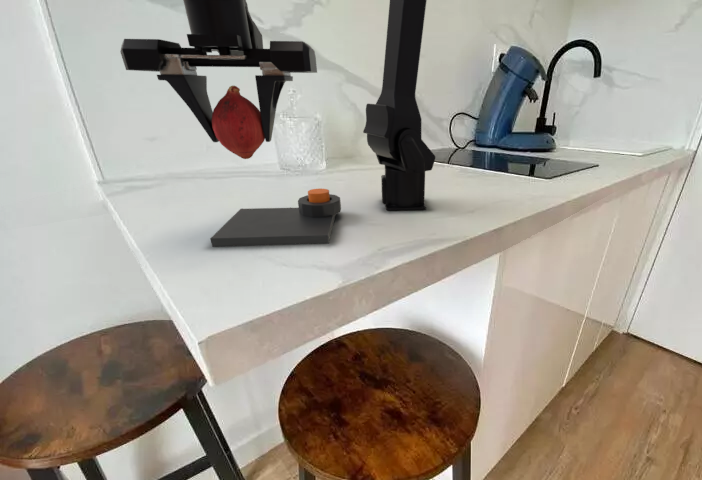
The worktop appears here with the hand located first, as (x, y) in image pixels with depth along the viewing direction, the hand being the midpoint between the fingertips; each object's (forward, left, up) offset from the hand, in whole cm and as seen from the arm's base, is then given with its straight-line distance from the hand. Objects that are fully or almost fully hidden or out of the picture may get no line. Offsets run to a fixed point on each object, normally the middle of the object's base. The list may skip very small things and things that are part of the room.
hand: (242, 141), depth 44 cm
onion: (0, 0, -2) cm, 2 cm away
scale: (-3, -1, -12) cm, 12 cm away
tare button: (-8, -5, -9) cm, 13 cm away
